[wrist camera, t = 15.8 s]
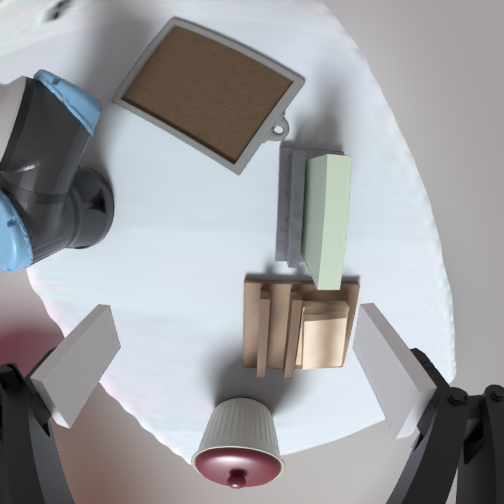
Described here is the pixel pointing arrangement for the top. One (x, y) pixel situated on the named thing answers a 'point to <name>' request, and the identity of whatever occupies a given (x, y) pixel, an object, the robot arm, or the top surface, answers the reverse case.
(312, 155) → the stand
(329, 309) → the offcut lower
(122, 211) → the top surface
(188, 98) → the grey brown flat board
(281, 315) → the rack
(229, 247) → the top surface
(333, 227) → the panel
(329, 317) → the offcut upper
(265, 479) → the canister
